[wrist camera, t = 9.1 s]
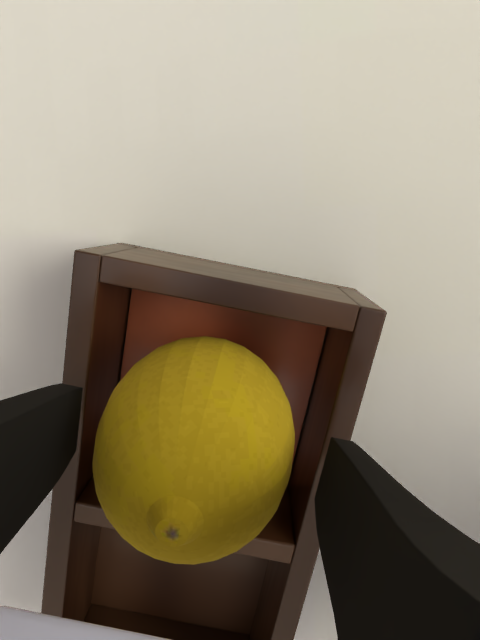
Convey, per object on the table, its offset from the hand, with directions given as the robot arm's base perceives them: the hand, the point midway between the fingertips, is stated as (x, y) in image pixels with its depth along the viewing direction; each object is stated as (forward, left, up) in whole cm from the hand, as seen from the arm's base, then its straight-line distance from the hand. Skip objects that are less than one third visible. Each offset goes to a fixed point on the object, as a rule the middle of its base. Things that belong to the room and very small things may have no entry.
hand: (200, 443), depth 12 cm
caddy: (0, +4, -5) cm, 7 cm away
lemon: (0, 0, -5) cm, 5 cm away
